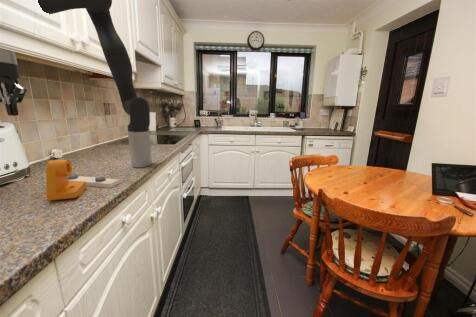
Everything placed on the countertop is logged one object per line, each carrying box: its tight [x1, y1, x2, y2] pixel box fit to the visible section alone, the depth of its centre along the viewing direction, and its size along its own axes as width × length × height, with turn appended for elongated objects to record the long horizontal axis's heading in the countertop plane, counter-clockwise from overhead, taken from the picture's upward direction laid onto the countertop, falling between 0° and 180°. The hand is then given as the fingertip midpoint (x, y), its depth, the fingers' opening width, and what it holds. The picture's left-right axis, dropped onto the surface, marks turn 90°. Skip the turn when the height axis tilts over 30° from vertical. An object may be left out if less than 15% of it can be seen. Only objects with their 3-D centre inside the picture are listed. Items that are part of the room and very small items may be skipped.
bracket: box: [45, 159, 87, 201], centre depth 69 cm, size 11×7×12 cm, turn 20°
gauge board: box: [67, 174, 121, 189], centre depth 81 cm, size 5×24×2 cm, turn 81°
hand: (13, 115), depth 74 cm, fingers closed
